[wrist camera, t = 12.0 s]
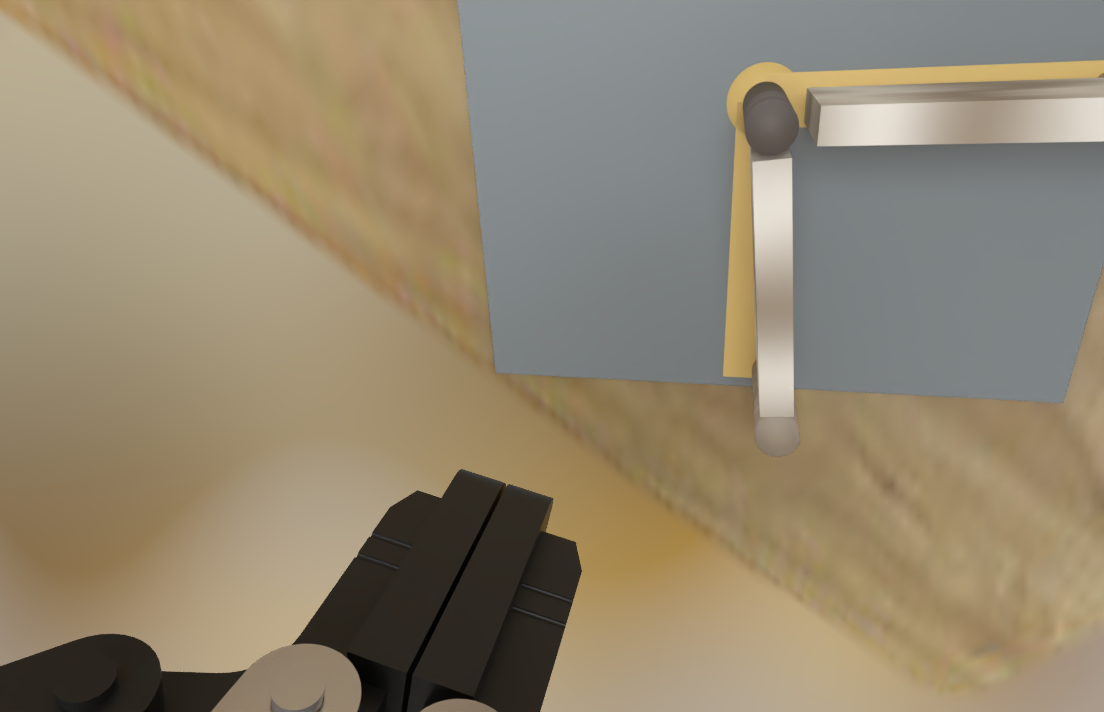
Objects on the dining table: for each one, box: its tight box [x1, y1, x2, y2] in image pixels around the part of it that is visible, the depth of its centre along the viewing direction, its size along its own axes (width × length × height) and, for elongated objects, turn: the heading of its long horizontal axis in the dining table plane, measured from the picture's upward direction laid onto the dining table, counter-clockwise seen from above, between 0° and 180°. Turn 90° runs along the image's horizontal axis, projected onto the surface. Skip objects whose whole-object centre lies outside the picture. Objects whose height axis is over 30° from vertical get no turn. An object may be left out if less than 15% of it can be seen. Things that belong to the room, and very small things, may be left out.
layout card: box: [458, 0, 1104, 403], centre depth 29 cm, size 25×18×1 cm
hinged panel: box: [743, 81, 800, 457], centre depth 27 cm, size 13×2×6 cm, turn 8°
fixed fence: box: [804, 72, 1104, 146], centre depth 24 cm, size 11×2×7 cm, turn 93°
